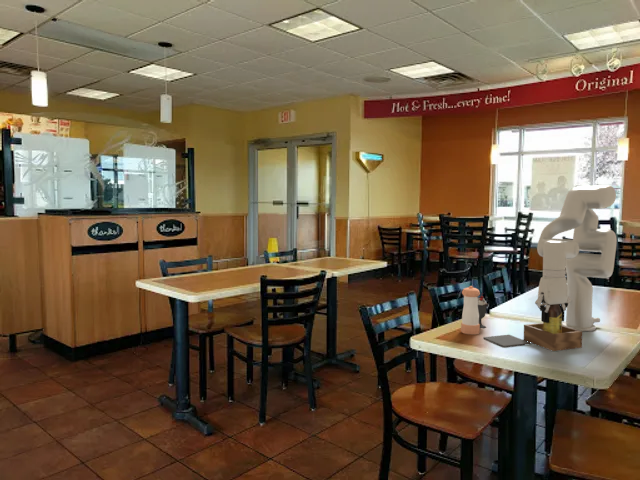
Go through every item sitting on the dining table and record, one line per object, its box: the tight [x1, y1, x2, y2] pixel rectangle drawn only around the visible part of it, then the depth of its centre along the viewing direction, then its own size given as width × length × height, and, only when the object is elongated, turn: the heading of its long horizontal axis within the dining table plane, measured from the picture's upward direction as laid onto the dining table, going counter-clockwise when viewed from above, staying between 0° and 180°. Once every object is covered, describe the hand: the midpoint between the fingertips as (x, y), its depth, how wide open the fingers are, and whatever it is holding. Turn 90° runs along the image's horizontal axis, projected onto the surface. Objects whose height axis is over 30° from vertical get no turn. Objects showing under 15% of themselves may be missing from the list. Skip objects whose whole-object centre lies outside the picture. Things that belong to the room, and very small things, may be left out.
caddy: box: [523, 322, 583, 352], centre depth 180 cm, size 13×15×6 cm
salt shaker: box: [460, 285, 481, 335], centre depth 197 cm, size 7×7×19 cm
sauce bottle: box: [542, 304, 563, 334], centre depth 180 cm, size 6×6×20 cm
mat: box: [482, 334, 532, 348], centre depth 184 cm, size 12×12×1 cm
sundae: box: [478, 292, 489, 329], centre depth 205 cm, size 7×7×15 cm
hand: (552, 320), depth 180 cm, fingers closed on sauce bottle, 6 cm apart
